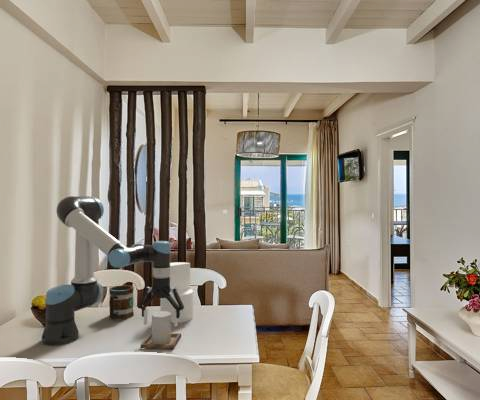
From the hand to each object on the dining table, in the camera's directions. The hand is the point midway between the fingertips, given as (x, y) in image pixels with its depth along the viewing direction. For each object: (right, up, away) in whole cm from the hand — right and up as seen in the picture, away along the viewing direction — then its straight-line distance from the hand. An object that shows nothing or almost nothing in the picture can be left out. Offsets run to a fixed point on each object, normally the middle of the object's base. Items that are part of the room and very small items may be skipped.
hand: (160, 324), depth 160 cm
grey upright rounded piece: (0, -7, 0) cm, 7 cm away
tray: (0, -8, 0) cm, 8 cm away
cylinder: (+1, -8, +35) cm, 36 cm away
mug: (-30, -8, +35) cm, 47 cm away
